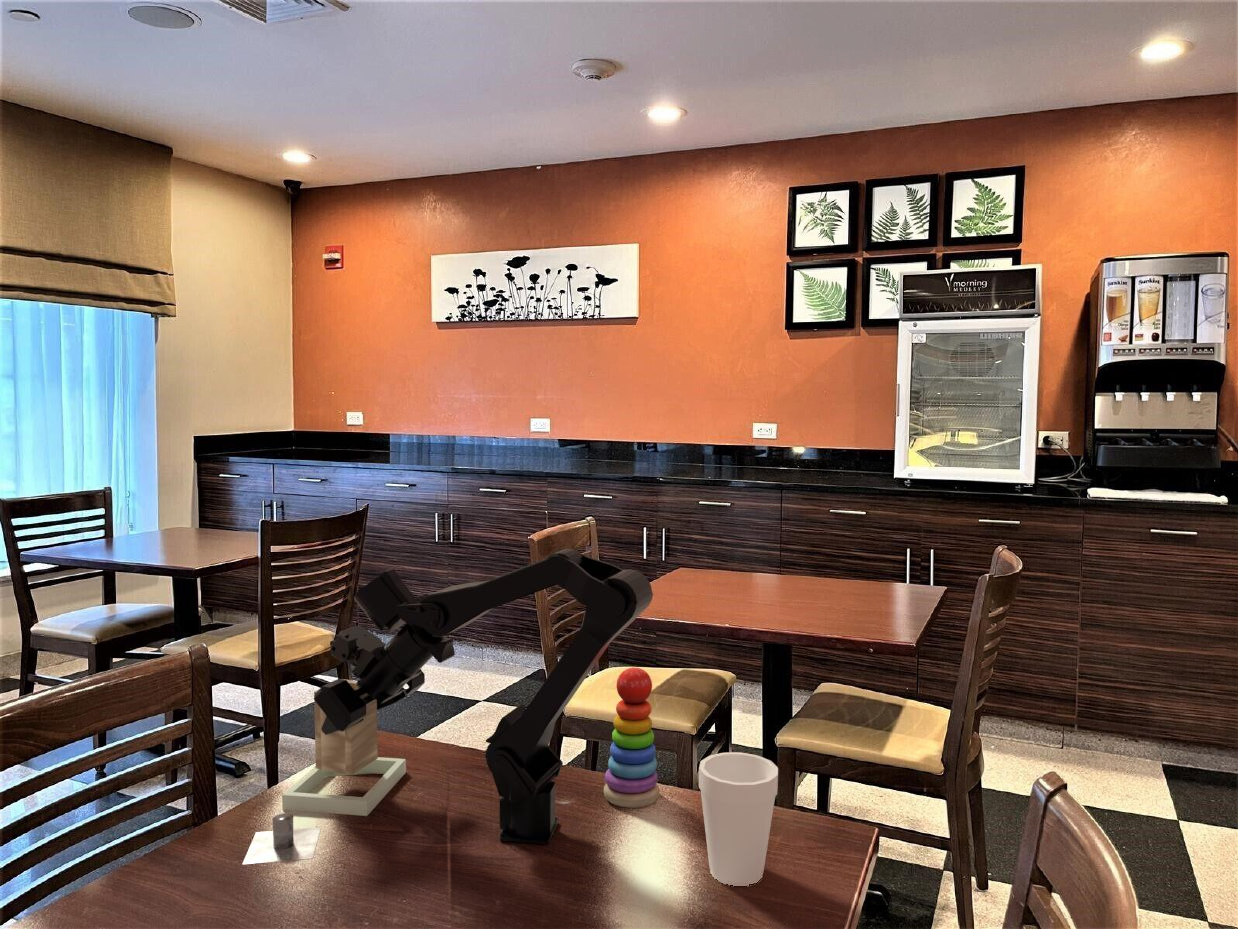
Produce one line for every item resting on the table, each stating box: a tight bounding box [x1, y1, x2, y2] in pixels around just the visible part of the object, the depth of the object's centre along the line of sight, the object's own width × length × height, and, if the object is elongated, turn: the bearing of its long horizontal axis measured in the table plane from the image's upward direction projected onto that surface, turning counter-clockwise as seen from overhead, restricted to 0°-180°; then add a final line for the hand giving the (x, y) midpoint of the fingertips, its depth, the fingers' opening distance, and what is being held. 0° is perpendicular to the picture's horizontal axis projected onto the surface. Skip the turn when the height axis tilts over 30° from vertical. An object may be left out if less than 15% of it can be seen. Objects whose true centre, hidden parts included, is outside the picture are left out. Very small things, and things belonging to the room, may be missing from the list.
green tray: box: [281, 756, 407, 817], centre depth 127 cm, size 12×14×3 cm
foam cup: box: [698, 752, 779, 887], centre depth 107 cm, size 10×9×13 cm
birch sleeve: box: [313, 678, 379, 776], centre depth 127 cm, size 8×6×11 cm
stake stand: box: [241, 812, 322, 866], centre depth 111 cm, size 8×8×4 cm
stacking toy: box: [603, 667, 661, 809], centre depth 127 cm, size 8×8×19 cm
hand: (338, 724), depth 127 cm, fingers closed on birch sleeve, 6 cm apart
